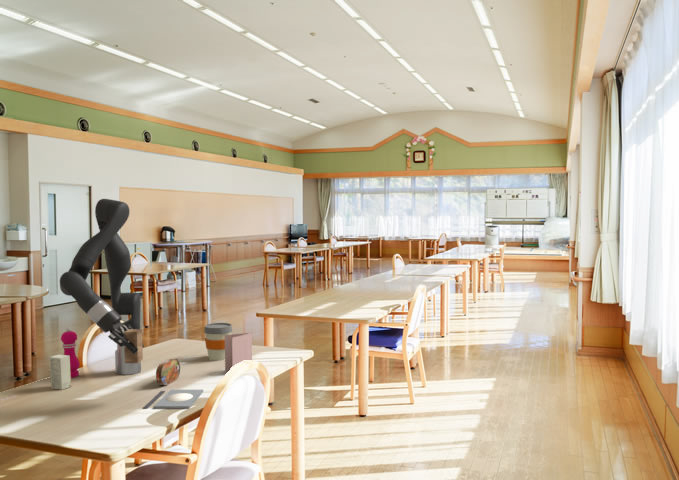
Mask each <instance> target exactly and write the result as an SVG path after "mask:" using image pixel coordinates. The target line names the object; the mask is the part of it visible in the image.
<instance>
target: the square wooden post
mask: <svg viewBox="0 0 679 480" xmlns="http://www.w3.org/2000/svg"><path fill="white" fill-rule="evenodd" d="M124 333H125V334H126V335H127V338H128V339H129V340H130V342H132V343H133V344H134V345H135V346H136V347H137V348H138V351H137V352H136V353H135V354H133V353H132V352H131V351H130V350H129V349H128V348H127V347H124V351H125V363H139V362H140V361H141V362H142V361H143V360H144V359H143V358H144V354H143V348H144V347H143V348H142V344H143V329H142V328H140V329H129V330H127V331H125V332H124Z"/></svg>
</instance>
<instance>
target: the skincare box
mask: <svg viewBox="0 0 679 480" xmlns="http://www.w3.org/2000/svg"><path fill="white" fill-rule="evenodd" d="M49 371H50V373H49V374H50V389H55V390H64V389H65V390H66V389H68V388H70V387H72V378H71V373H70V356H69V355H64V354H59V353H58V354H56V355H52V356H49Z"/></svg>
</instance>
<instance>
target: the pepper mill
mask: <svg viewBox="0 0 679 480" xmlns="http://www.w3.org/2000/svg"><path fill="white" fill-rule="evenodd" d="M60 340H61V342H62V348H63V355H69V356H70V373H71V379H73V378H76V377H78V376H79V374H80V373H79V370H78V369H79V368H80V360H79V358H78V356H77V355H76V349H75V348H76V347H77V340H78V335H77V333H76V332H75V331H73V330H72V328H71V327H67V328H66V331H64V332H63V333H62V334H61V336H60Z"/></svg>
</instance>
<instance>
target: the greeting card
mask: <svg viewBox="0 0 679 480" xmlns="http://www.w3.org/2000/svg"><path fill="white" fill-rule="evenodd" d="M252 337H253V335H252V332H248V333H245V332H244V333H231V335H225V360H224V371H230V370H229V369H230V368H231V367H232V366H234V365H235V364H237V363H239V362H241V361H243V360H252V361H253V346H252V345H253V342H252V341H253V338H252ZM227 369H228V370H227Z"/></svg>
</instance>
